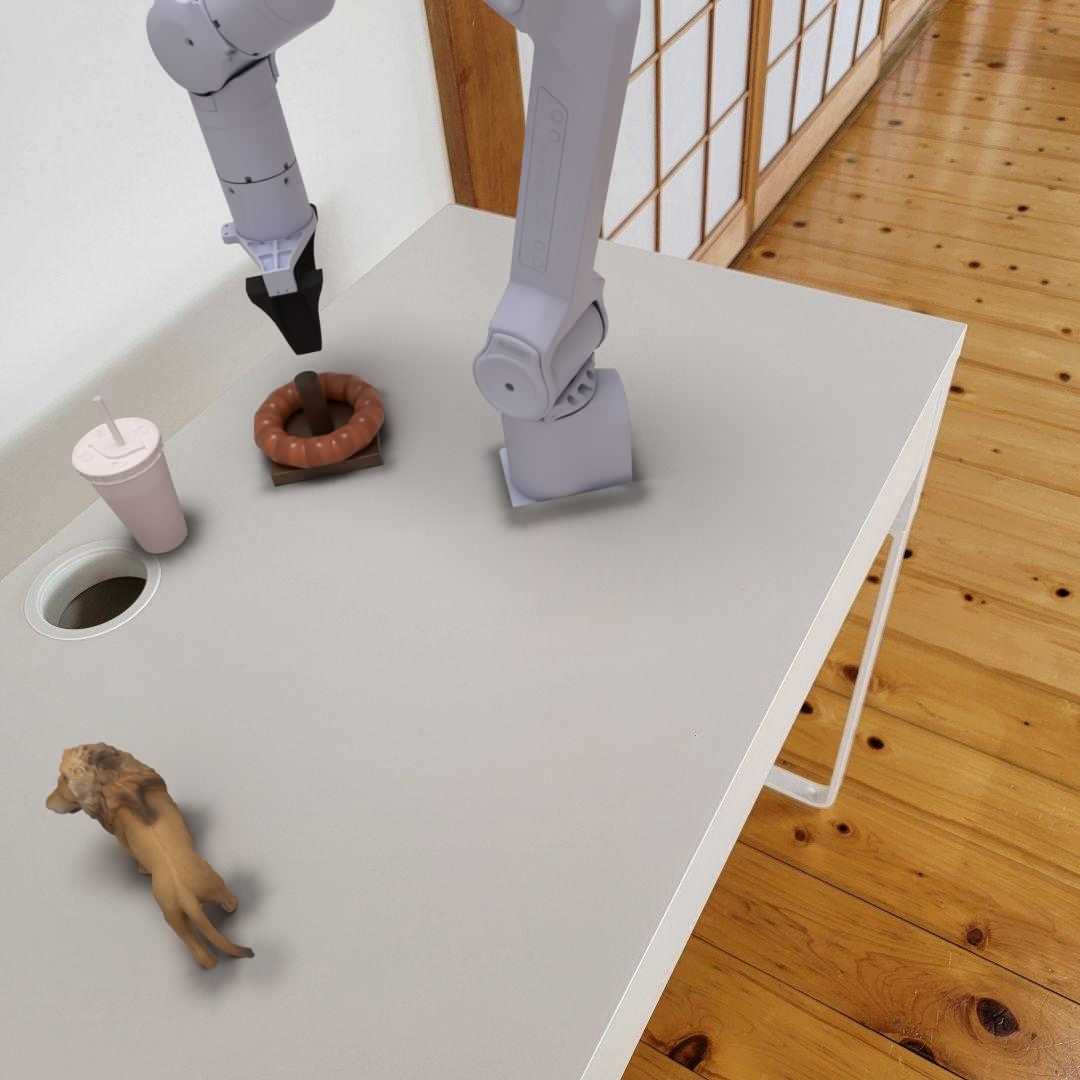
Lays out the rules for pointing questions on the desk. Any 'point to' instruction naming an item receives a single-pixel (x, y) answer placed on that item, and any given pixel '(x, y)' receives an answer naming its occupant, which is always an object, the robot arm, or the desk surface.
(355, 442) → the ring
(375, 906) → the desk surface
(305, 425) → the peg stand
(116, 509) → the smoothie
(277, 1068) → the desk surface
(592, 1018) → the desk surface
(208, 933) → the lion figurine
